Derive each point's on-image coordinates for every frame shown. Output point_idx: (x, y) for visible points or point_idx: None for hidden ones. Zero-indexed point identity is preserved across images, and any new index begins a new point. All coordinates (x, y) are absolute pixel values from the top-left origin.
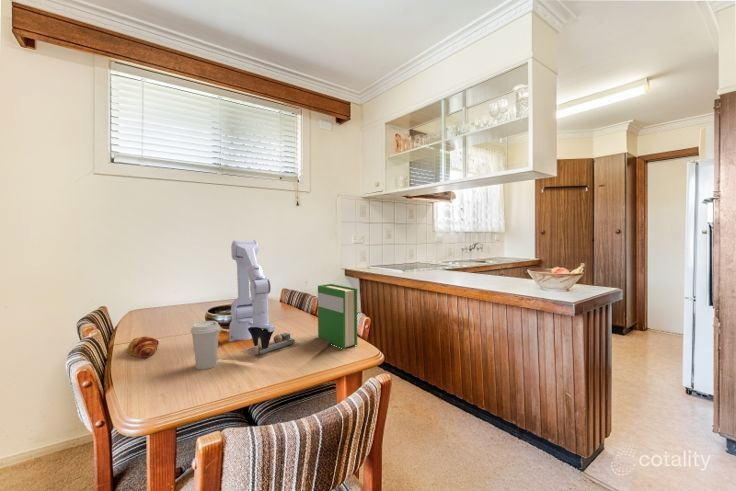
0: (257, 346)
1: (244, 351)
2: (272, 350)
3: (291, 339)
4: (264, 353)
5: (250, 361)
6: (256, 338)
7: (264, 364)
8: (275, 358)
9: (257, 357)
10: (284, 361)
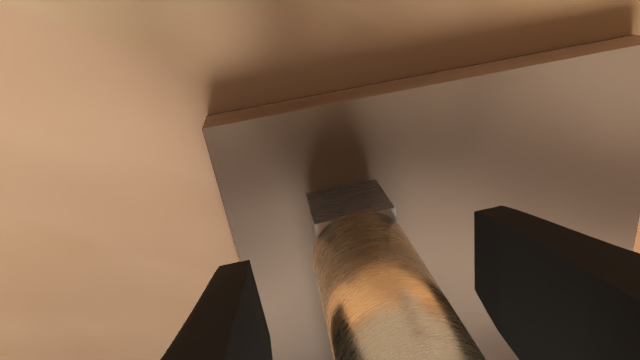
0: None
1: (615, 69)
2: None
3: None
4: None
5: (295, 29)
6: (571, 331)
7: (60, 140)
8: (189, 303)
9: (253, 129)
10: (31, 347)
